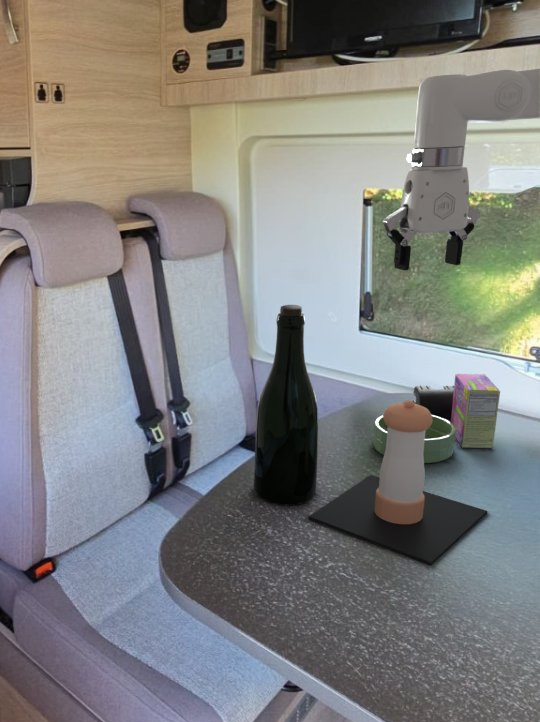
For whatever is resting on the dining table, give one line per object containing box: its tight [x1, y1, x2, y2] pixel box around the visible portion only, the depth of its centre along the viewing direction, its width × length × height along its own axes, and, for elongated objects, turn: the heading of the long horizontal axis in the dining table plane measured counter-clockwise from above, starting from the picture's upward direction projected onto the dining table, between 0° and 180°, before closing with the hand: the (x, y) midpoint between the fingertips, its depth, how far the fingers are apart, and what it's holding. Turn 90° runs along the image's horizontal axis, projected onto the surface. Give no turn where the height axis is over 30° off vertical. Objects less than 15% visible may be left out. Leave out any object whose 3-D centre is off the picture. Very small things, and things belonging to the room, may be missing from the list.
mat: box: [308, 474, 488, 566], centre depth 115 cm, size 20×20×1 cm
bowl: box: [372, 414, 456, 464], centre depth 138 cm, size 14×14×5 cm
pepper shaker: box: [374, 399, 433, 524], centre depth 112 cm, size 7×7×19 cm
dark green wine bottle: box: [253, 304, 319, 506], centre depth 119 cm, size 10×10×33 cm
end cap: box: [412, 385, 454, 421], centre depth 151 cm, size 10×7×7 cm
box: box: [450, 373, 501, 449], centre depth 140 cm, size 10×6×12 cm, turn 168°
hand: (427, 266), depth 121 cm, fingers open, 9 cm apart
